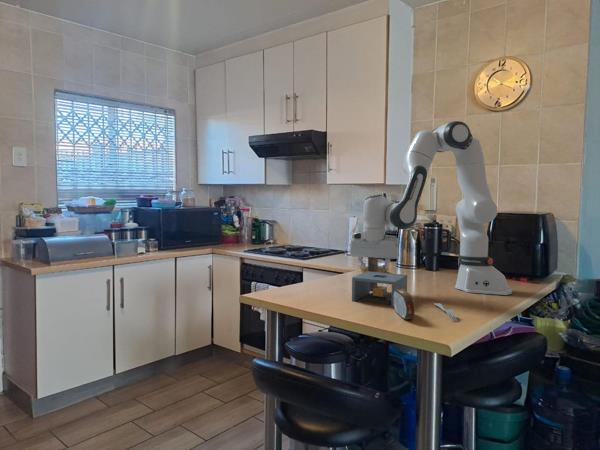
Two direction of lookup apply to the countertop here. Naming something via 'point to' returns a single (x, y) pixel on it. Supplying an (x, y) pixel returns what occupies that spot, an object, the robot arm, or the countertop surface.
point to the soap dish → (380, 268)
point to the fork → (446, 311)
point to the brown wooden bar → (372, 269)
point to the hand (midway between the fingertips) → (374, 268)
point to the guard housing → (363, 282)
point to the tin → (403, 304)
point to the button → (380, 291)
